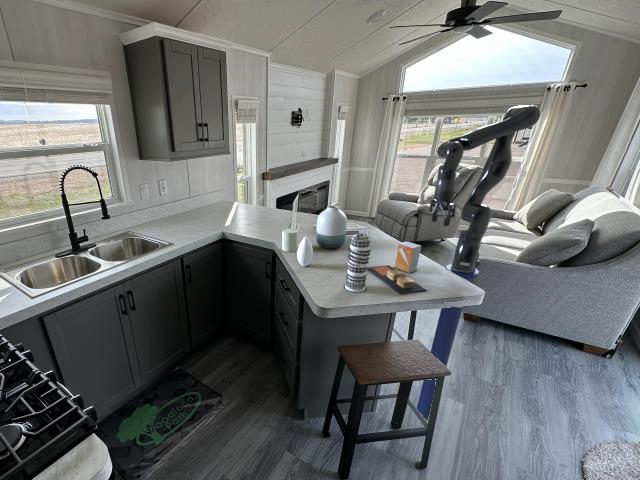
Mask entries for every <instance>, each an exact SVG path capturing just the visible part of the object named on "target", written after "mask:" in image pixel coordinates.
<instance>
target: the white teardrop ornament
mask: <svg viewBox="0 0 640 480" xmlns="http://www.w3.org/2000/svg"><path fill="white" fill-rule="evenodd" d="M313 249H314V248H313V245H312V243H311V241H310V240H309V237H307V235H305V236H304V237H303V238H302V240H301V241H300V243H299V245H298V246H297V251H296V256H297V261H298V264H299V265H301V266H302V267H307V266H309V265H310V264H311V263H312V261H313V259H314V250H313Z"/></svg>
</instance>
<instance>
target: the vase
mask: <svg viewBox="0 0 640 480" xmlns="http://www.w3.org/2000/svg"><path fill="white" fill-rule="evenodd" d="M347 225H348V217H347V215H346V214H345V213H344V211H342V210H341V209H340V207H339V206H338V205H327V207H326V209H324V210H323V211H322V212H320V213H319V215H318V216H317V221H316V232H315V233H316V234H315V235H316V236H315V241H316V243H317V245H318V246H319V247H321V248H324V249H331V250H332V249H334V250H335V249H339V248H341V247H342V246H343V245H344V244H345V241H346V235H347V227H348V226H347Z"/></svg>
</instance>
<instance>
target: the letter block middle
mask: <svg viewBox="0 0 640 480" xmlns="http://www.w3.org/2000/svg"><path fill="white" fill-rule="evenodd" d="M403 275H404V272H402V271H401V270H399V269H395V270H389V271H387V277H388V278H390V279H391V280H392V281H395V280H397V279H398V278H399V277H403Z"/></svg>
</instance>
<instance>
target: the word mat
mask: <svg viewBox="0 0 640 480" xmlns="http://www.w3.org/2000/svg"><path fill="white" fill-rule="evenodd" d="M366 270H368V271H369V272H371V273H372V274H374V275H375V276H376V277H377V278H379V279H380V280H381V281H383V282H384V283H386V284H387V285H388V286H390V287H391V288H392V289H393V290H394V291H396V292H398V293H399V294H400V295H403V294H412V293H420V292H421V293H422V292H427V290H426V289H425V288H424V287H422V286H421V285H420V284H418V283H416V282H415V283H414V287H411V288H402V287H401V286H399V285H398V284H397V280H395V281H392V280H391V279H390V278H388V277H387V271H389V270H396V268H393V267H392V266H391V265H380V266H371V267H366ZM403 277H407V276H405V275H404V274H403Z"/></svg>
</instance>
